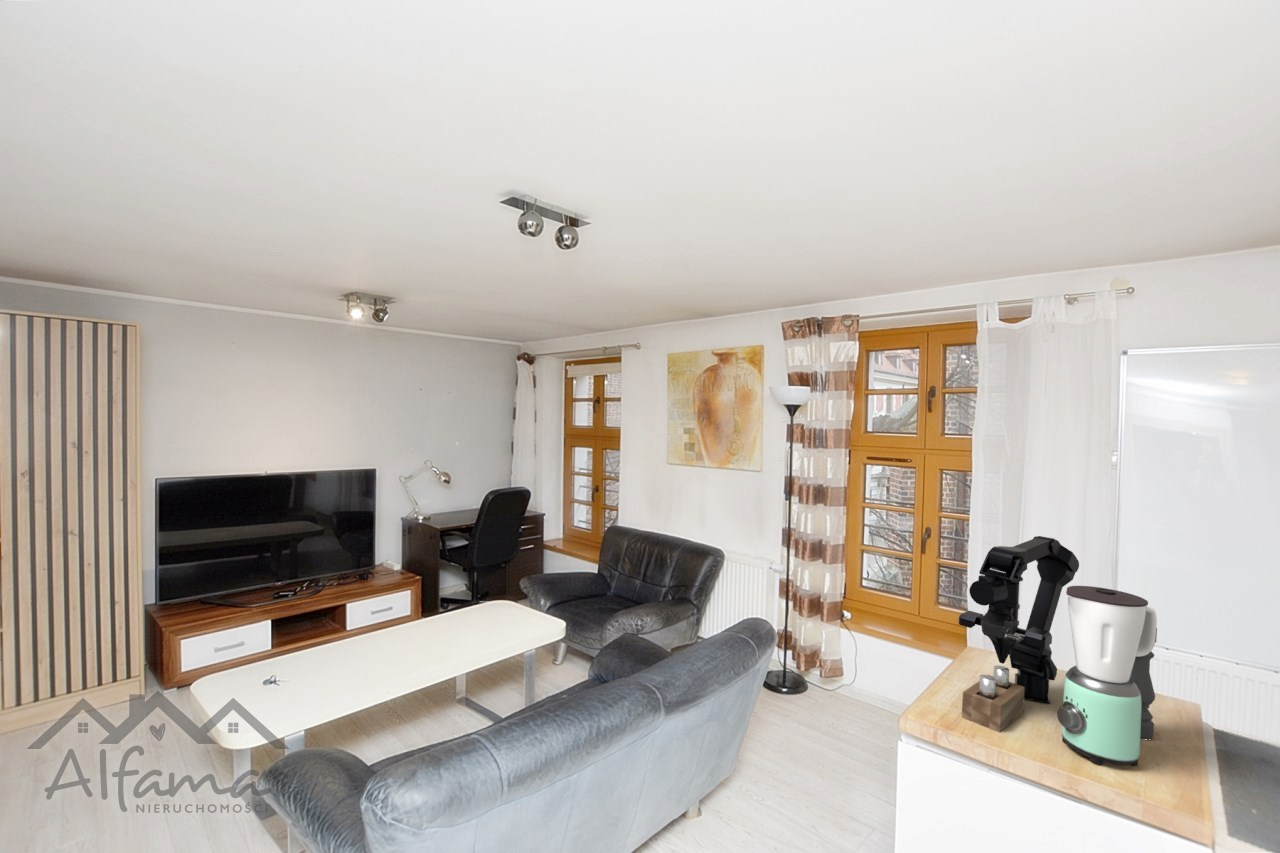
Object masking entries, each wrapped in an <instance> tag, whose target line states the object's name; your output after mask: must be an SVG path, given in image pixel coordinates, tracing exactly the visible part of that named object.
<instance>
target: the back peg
mask: <svg viewBox="0 0 1280 853" xmlns="http://www.w3.org/2000/svg"><path fill="white" fill-rule="evenodd" d="M993 677H994V678H995V679H996V686H998V687H1001V688H1004V689H1008V688H1009V682H1010V669H1009V668H1008V667H1006V666H1004V665H994V666H993Z"/></svg>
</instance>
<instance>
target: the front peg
mask: <svg viewBox="0 0 1280 853" xmlns="http://www.w3.org/2000/svg"><path fill="white" fill-rule="evenodd" d="M988 675H989V674H981V675H979V681H980V687H979V695H980V696H983V697H985V698H988V699H991V700H994V699H995V688H996V679H995V678H994V676H993V677H991V676H992V675H990V676H988Z"/></svg>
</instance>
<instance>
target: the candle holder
mask: <svg viewBox="0 0 1280 853" xmlns="http://www.w3.org/2000/svg"><path fill="white" fill-rule="evenodd" d="M1157 636H1158V628H1157V627H1156V639H1155V644H1156V643H1157V640H1158V639H1157V638H1158V637H1157ZM1154 657H1155V654H1154V653H1153V652H1152V651H1151V652H1150V653H1148V654H1147V655H1145V656H1140V657H1135V661H1134V665H1133V668H1132V672H1131V676H1130V679H1131V680H1132V681H1133V682H1134V683H1135V684H1136V685H1137V687H1138V689H1139V691H1140V693H1141V701H1142V707H1141V735H1140V740H1141V739H1147V740H1146V741H1150V740H1149V739H1152V738H1153V739H1154V732H1155V731H1154V730H1155V724H1154V721H1153V720H1152V719H1154V716H1153V715H1152V713H1151V712H1150V710H1149V709H1150V706H1151V705H1152V704H1153V703H1154V701H1155V700H1156V694H1155V689H1154V686H1153V682H1152V677H1151V674H1150V672H1151V671H1150V670H1151V669H1150V668H1151V665H1150V664H1151V660H1152V659H1153V658H1154ZM1153 739H1152V740H1153Z"/></svg>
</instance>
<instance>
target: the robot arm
mask: <svg viewBox="0 0 1280 853" xmlns="http://www.w3.org/2000/svg"><path fill="white" fill-rule="evenodd" d="M1033 562H1037V564H1036V570H1037V571H1038V575H1039V577H1040V581H1039V585H1038V589H1037V591H1036V594H1035V595H1036V596H1035V598H1034V602H1033V604H1032V605H1033V606H1032V608H1031V611H1030V615H1029V617H1028V621H1027V624H1026V627H1025V629H1024V628H1020V627H1018V626H1019V625H1020V620H1019V610H1020V607H1021V606H1020V602H1019V601H1020V600H1019V599H1020V598H1019V596H1020V582H1023V581H1024V577H1023V576H1022V575H1023V573H1024V572H1026V570H1028V564H1030V563H1033ZM1079 568H1080V562H1079V560H1078V558H1077V557H1076V555H1075V554H1074V552H1073V551H1072V550H1070V549H1069V548H1067V547H1065V546H1064V545H1063V544H1061V543H1060V541H1059V540H1057V539H1055V538H1053V537H1048V536H1041V535H1038V536H1034V537H1033V538H1031V539H1029V540H1027V541H1024V542H1021V543H1019V544H1016V545H1014V546H1005V545H1004V546H1003V545H1000V546H999V545H998V546H993V547H992V548H990V550H989V551H988V552H987V554H986V556H985V558H984V561H983V563H982V565H981V567H980V569H979V575H978V580H976V581H974V582H972V584H971V585H970V587H969V589H968V591H969V596H970V597H971V599H972V600H973V602H975V603H976V604H978V605H980V606H983V607H984V606H988V608H987V611H986V613H985V614H983V613H979V612H975V611H972V610H967V611H965V612H962V613H961V614H960V615H959V617H958V625H959V626H963V627H966V628H968V629H972V628H974V627H975V626H981V632H982V634H983V635H984V636H987V637H988V639H989V640H990V642H991V643H992V646H993V648H994V651H995V654H996V658H997V659H998V662H999V664H1003V665H1004V664H1005V663H1006V661H1007V659H1008V657H1009V660H1010V666H1011V668H1012V669H1016V670H1017V673H1016V672H1015V674H1014V684H1017V685H1020V686H1023V687H1025V688H1024V700H1027V701H1028V700H1029V701H1032V702H1033V701H1034V702H1038V703H1043V704H1051V701H1050V699H1049V688H1050V687H1049V686H1050V681H1055V680H1056V678H1057V677H1056V676H1057V674H1058V668H1057V665H1055V663H1054V661H1053V659H1052V654H1053V652H1052V649H1051V644H1053V636H1052V635H1053V634H1051V632H1050V631H1051V628H1052V624H1053V621H1054V617H1055V614H1056V611H1057V608H1058V605H1059V604H1058V603H1059V601H1060V597H1061V593H1062V590H1063V588H1064V587H1066V585H1068V584H1069V583H1071V582H1072V581H1073V580H1074V578H1075V576H1076V573H1077V572H1078V570H1079Z"/></svg>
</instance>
